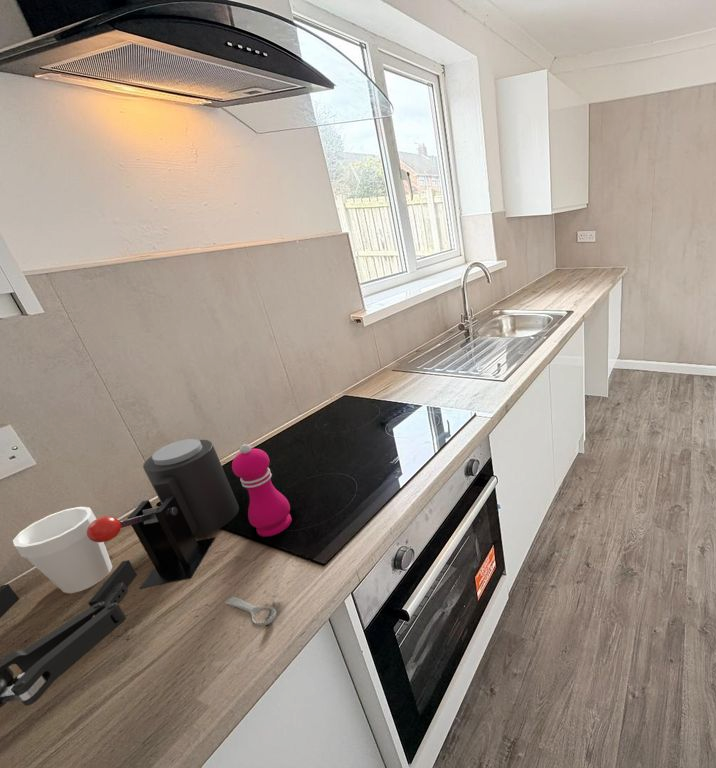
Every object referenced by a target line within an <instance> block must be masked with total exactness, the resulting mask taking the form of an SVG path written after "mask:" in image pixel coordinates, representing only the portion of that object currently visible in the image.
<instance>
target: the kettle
mask: <svg viewBox="0 0 716 768" xmlns="http://www.w3.org/2000/svg"><path fill="white" fill-rule="evenodd" d="M142 468H143V471H144V472H145V474H146V476H147V478H148V480H149V482H150V484H151V486H152V488H153V490H154V491H155V494H156V496H157V497H158V499H159V502H160V505H162V503H163V502H164V501H165V500H166V499H167V498H168V497H170V496H175V498H176V500H177V502H178V504H179V506H180V509H181V511H182V513H183V515H184V517H185V519H186V521H187V523H188V525H189V527H190V529H191V531H192V533H193V535H194V537H195V539H197V538H200V537H203V536H206V535H209V534H212V533H214V532H216V531H218V530H220V529H222V528H223V527H225V526H226V525H228V524H229V523H230V522H231V521H232V520H234V518H235V517H236V516H237V515H238V513H239V511H240V506H239V503H238V501H237V499H236V496H235V494H234V491H233V489H232V487H231V484H230V482H229V480H228V477H227V475H226V472H225V470H224V468H223V465H222V462H221V461H220V458H219V455H218V454H217V451H216V449H215V446H214V444H213V442H212V441H211V440H208V439H197V438H187V439H181V440H178V441H174V442H172V443H168V444H166V445H165V446H162V447H160V448H159V449H158V450H155V452H154V453H153V454H152V455H151V456H150V457H148V458H147V459H146V460H145V461H144V463H143V464H142Z"/></svg>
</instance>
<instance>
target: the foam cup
mask: <svg viewBox="0 0 716 768" xmlns="http://www.w3.org/2000/svg"><path fill="white" fill-rule="evenodd" d="M96 519H97V517H96V515H95V514H94V512H93V510H92V509H91V508H90V507H89V506H76V507H71V508H66V509H63V510H60V511H57V512H55V513H51V514H49V515H47V516H45V517H43V518H41V519H39V520H36V521H34V522H33V523H31V524H30V525H28V526H27V527H25V528H24V529H22V530H21V531H19V532H18V534H17V535H16V536H15V537H14V538H13V539H12V543H13V547H14V548H15V549H16V551H17V552H18V553H19V555H20V556H21V557H22V558H25V559H26V560H28V561H29V562H30V563H31V564H32V565H33V566H34V567H35V568H36V569H37V570H38V571H40V572H41V574H43V575H44V576H45V577H46V578H47V579H49V581H51V582H52V583H53V584H54V586H56V587H57V588H58V589H59V590H61V592H63V593H65V594H75V593H79V592H82V591H84V590H87V589H90V588H91V587H94V586H95V585H96V584H98V583H99V582H101V581H103V580H104V579H105V578H106V577H107V576H108V575H109V574H110V573H111V571H112V569H113V564H112V561H111V559H110V556H109V553H108V550H107V548H106V547H107V546H106V545H105V542H94V541H92V540H90V539H89V538H88V536H87V528H88V526H89V525H90V524H91V523H92V522H93V521H94V520H96Z"/></svg>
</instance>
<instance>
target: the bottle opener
mask: <svg viewBox="0 0 716 768" xmlns="http://www.w3.org/2000/svg"><path fill="white" fill-rule="evenodd" d="M224 604H225V605H227V606H231V607H233V608H237V609H240V610H242V611H245V612H247V613H249V614H250V616H251V621H252V623H253V624H254V625H257V626H268V625H270V624H271V623H273V622H274V621H275V619H276V617H277V610H276V608H274V607H273V606H268V605H266V606H255V605H253V604H251V603H249V602H248V601H246V600H243V599H241V598H238V597H236V596H231V597H230V598H229V599H227V600H226V601H225V603H224ZM263 609H269V610H270V611H269V613H268V616H267V618H266V621H263V622H257V621H255V619H254V617H255V614H256V613H258V612H259V611H260V610H263Z"/></svg>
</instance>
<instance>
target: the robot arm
mask: <svg viewBox="0 0 716 768" xmlns="http://www.w3.org/2000/svg"><path fill="white" fill-rule="evenodd" d="M137 576H138V574H137V572H136V570H135V568H134V566H133V564H132V562H131V561H130V560H129V559H127V560H122V561H121V562H120V563H119V565H118V566H117V567H116V568H115V570H114V571H112V573H111V574H110V576H109V577H108V578H107V580H105V581H104V583H103V584H102V586H101V587H99V589H98V590H97V591H96V593H94V595H93V596H92V598H91V599H90V600H88V605H89V607H88V608H87V609H85V610H84V611H82V612H80V613H79V614H77V615H75V616H74V617H73V618H71V619H69V620H68V621H66V622H65V623H63V624H61V625H59V626H58V627H57V628H55V629H54V630H52V631H51V632H49V633H47V634H46V635H44V636H42V637H41V638H39V639H38V640H37V641H34V642H33V643H32V644H30V645H28V646H27V647H25V648H24V649H17V650H14V651H12V652H10V653H8V654H7V655H5V656H4V657H2V658H1V659H0V709H1V708H3V706H5V705H6V704H7V703H12V702H17V701H20V702H21V703H22V704H23V705H24V706H25V707H29V706H31V705H33V704H34V703H36V702H37V701H38V700H39V699H40V698H41V697H42V696H43V694H45V692H46V691H47V690H48V689H49V687H51V685H52V684H53V683H54V682H55V681H56V680H57V679H59V678H60V677H61V676H62V675H63V674H64V673H66V672H67V671H68V670H69V669H70V668H71V667H73V666H74V665H75V664H76V663H78V661H79V660H81V659H82V658H83V657H84V656H85V655H86V654H88V653H89V652H90V651H92V649H93V648H95V647H96V646H97V645H99V643H101V642H102V641H103V640H104V639H106V638H107V637H108V636H109V635H110V634H111V633H112V632H113V631H115V630H116V629H117V628H118V627H119V626H121V625H122V624H123V623H124V622H125V621H126V620H127V616H126V614H125V612H124V611H123V609H122V608H121V606H120V603H121V602H122V601H123V600H124V598H125V597H126V596H127V594H128V592H129V589H128V588H129V587H130V586H131V585H132V583H133V582H134V580H135V579H136V578H137ZM19 600H20V597H19V596H18V595H17V594H16V592H15V591H14V589H12V587H11V586H10V584H9V583H7V584H1V585H0V619H1V618H2V617H3V616H5V614H6V613H7V612H8V611H9V610H10V609H11V608H12V607H14V605H16V603H17V602H18V601H19ZM12 665H16V666H17V667H18V668H19V669H20V671H21V673H20V674H18V675H17V676H16V677H14V672H13V670H12V669H11V668H10V666H12Z"/></svg>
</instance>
